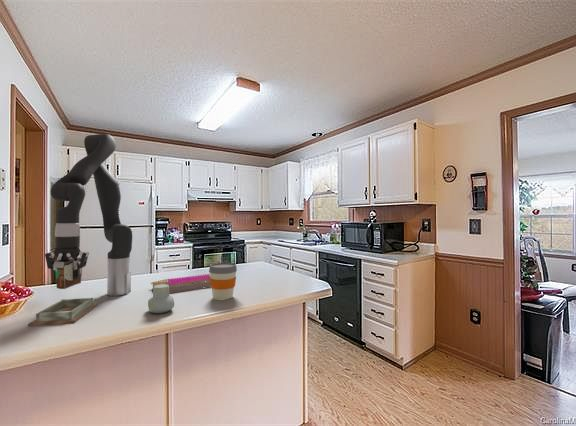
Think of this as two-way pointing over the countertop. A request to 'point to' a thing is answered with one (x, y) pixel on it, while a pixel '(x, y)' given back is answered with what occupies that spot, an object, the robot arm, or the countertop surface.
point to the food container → (66, 274)
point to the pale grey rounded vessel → (160, 299)
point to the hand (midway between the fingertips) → (66, 279)
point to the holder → (64, 312)
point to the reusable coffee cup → (222, 280)
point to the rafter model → (197, 280)
